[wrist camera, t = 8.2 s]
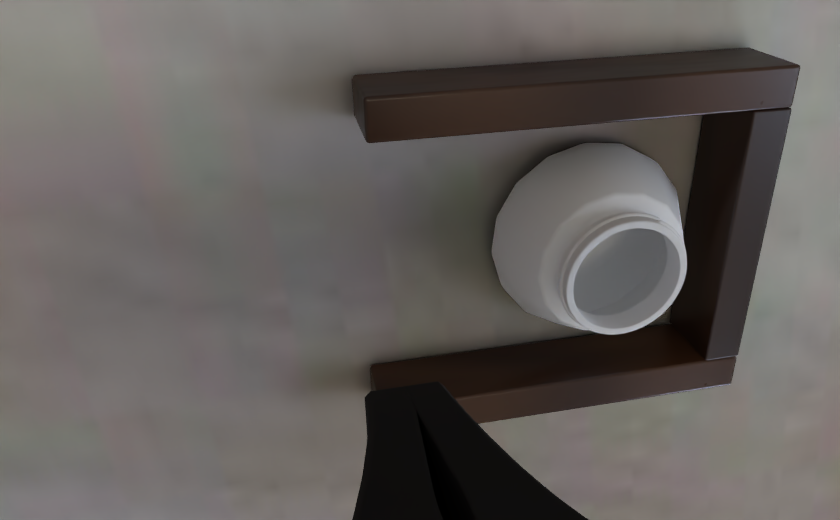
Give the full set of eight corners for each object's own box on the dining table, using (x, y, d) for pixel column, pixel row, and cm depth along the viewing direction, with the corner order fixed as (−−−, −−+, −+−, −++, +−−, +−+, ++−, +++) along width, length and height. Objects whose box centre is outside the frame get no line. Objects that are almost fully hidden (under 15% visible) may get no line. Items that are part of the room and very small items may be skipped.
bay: (371, 392, 21) (382, 440, 19) (351, 73, 17) (363, 97, 15) (694, 346, 23) (731, 385, 21) (749, 46, 18) (802, 64, 17)
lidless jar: (600, 329, 22) (699, 182, 20) (648, 391, 19) (766, 227, 17) (454, 274, 20) (551, 106, 18) (486, 334, 17) (601, 144, 15)
